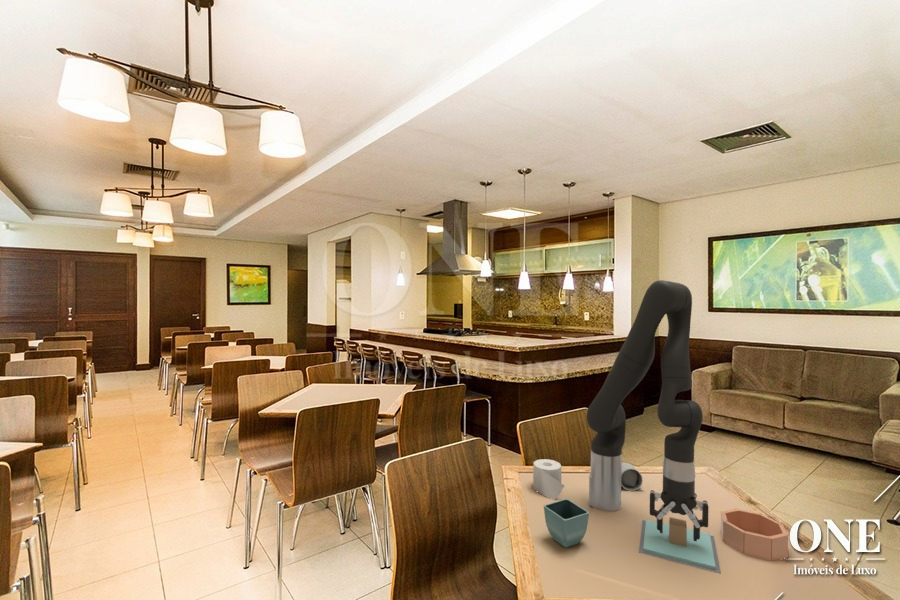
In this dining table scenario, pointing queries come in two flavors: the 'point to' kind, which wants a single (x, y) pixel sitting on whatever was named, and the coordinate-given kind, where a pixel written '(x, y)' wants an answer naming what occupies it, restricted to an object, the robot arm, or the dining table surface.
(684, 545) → the lid
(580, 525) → the flower pot
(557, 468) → the toilet tissue
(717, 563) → the mat
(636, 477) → the ceramic mug
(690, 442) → the robot arm
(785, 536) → the bowl
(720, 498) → the dining table surface
